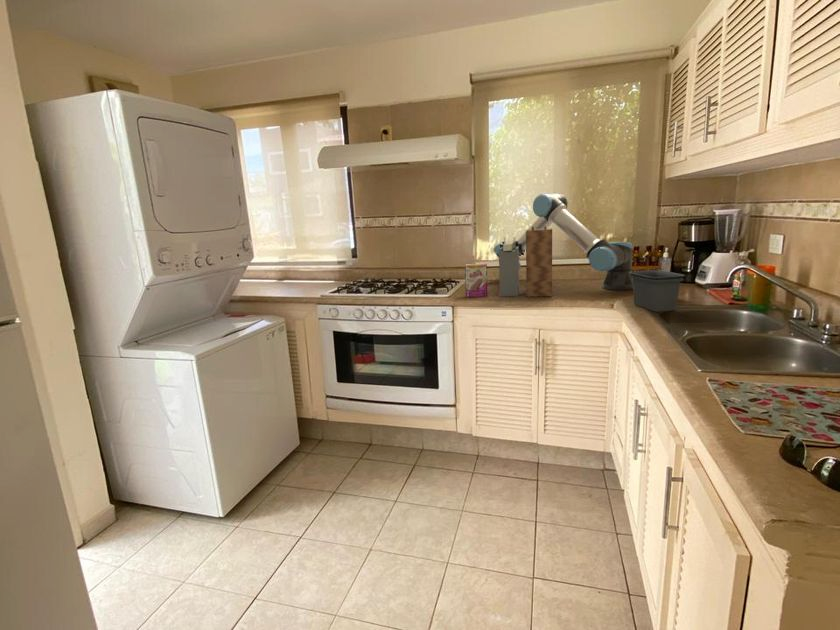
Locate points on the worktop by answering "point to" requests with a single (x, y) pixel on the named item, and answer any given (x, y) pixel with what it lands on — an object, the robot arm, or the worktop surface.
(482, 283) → the candy bar box
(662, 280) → the storage bin
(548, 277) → the stand
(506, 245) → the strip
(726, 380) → the worktop surface
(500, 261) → the rack
